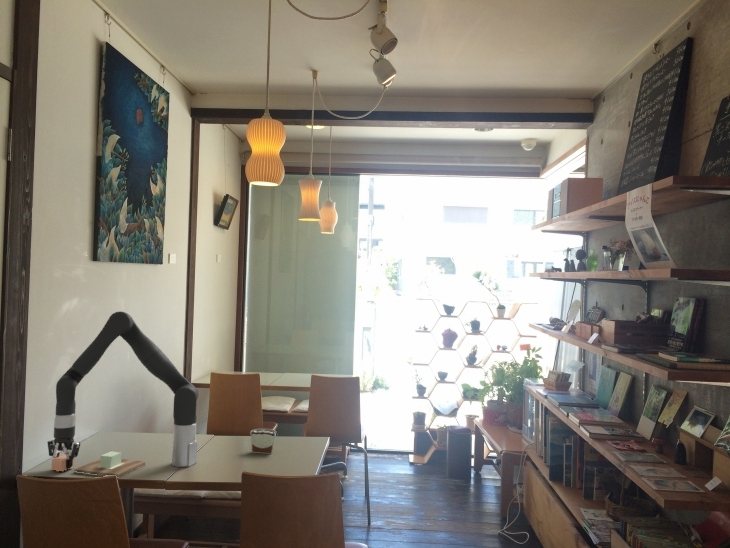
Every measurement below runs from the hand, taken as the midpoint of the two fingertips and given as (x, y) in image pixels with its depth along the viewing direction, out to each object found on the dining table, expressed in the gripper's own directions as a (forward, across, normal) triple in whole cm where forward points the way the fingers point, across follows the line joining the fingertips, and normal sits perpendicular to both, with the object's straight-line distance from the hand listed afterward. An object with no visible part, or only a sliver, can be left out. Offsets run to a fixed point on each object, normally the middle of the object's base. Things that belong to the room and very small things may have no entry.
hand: (62, 467), depth 214 cm
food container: (+2, -66, -50) cm, 83 cm away
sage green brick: (0, -17, -7) cm, 18 cm away
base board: (+1, -17, -7) cm, 18 cm away
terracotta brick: (+1, 0, 0) cm, 1 cm away
